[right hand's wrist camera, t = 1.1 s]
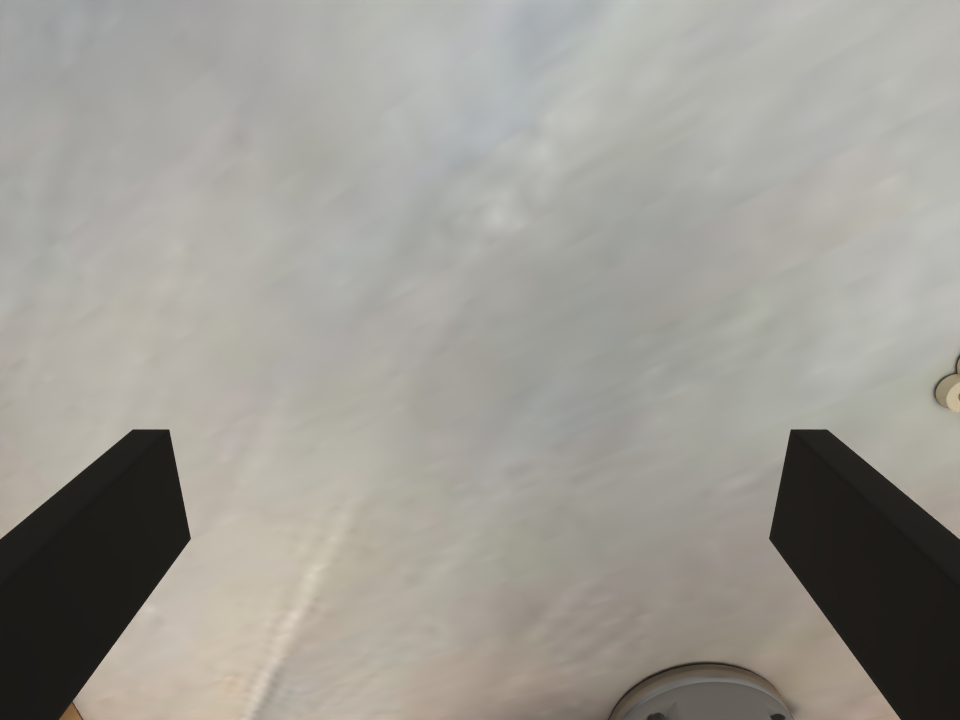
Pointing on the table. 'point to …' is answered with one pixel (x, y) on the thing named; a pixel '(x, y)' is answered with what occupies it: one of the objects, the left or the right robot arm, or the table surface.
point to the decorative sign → (950, 391)
